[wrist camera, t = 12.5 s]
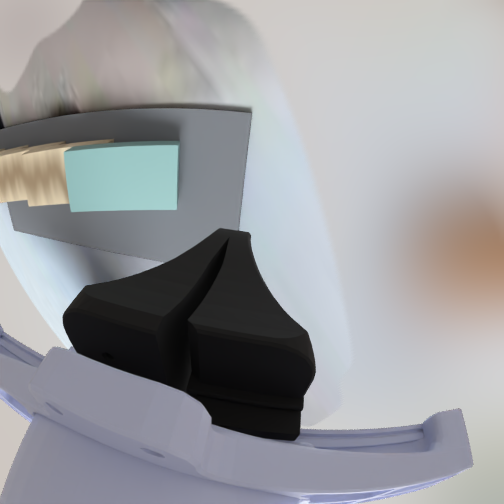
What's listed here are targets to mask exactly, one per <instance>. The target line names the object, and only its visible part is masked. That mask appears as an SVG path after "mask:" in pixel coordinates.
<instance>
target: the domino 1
mask: <svg viewBox="0 0 504 504" xmlns="http://www.w3.org/2000/svg"><path fill="white" fill-rule="evenodd" d="M62 144H66V141H62V142H56V143H50V144H44V145H38V146H33V147H28V148H23V149H18V150H14V151H9V152H5V153H2V154H0V203H3V202H11V201H20V200H27V195H26V189H25V183H24V177H23V170H22V162H21V155H22V154H24V153H25V152H27V151H29V150H32V149H38V148H43V147H49V146H55V145H62Z"/></svg>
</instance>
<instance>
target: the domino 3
mask: <svg viewBox="0 0 504 504" xmlns="http://www.w3.org/2000/svg"><path fill="white" fill-rule="evenodd" d="M179 150H180V141H137V142H118V143H104V144H92V145H83V146H74V147H71V148H70V149H68V150H66V151H64V162H65V173H66V181H67V189H68V196H69V203H70V209H71V212H85V211H117V210H177V206H178V181H179Z"/></svg>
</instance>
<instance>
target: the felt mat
mask: <svg viewBox="0 0 504 504" xmlns="http://www.w3.org/2000/svg"><path fill="white" fill-rule="evenodd" d="M251 118H252V113H247V112H237V111H226V110H212V109H192V108H139V109H120V110H107V111H96V112H87V113H79V114H72V115H65V116H59V117H53V118H47V119H42V120H37V121H32V122H28V123H23V124H19V125H15V126H11V127H7V128H3V129H0V149H4V148H5V150H8V149H12V148H16V147H20V146H25V145H28V147H33V146H38V145H44V144H50V143H56V142H62V141H66V144H69V143H77V142H85V141H95V140H106V139H114V143H118V142H137V141H180V150H179V181H178V206H177V210H117V211H85V212H71V209H70V204H55V205H42V206H30V207H29V205H28V200H20V201H11V202H7V203H8V208H9V212H10V216H11V220H12V224H13V228H14V230H15V231H19V232H23V233H27V234H32V235H36V236H40V237H45V238H49V239H53V240H58V241H62V242H67V243H71V244H76V245H81V246H85V247H90V248H95V249H100V250H104V251H109V252H114V253H119V254H124V255H129V256H134V257H139V258H144V259H149V260H154V261H160V262H165V263H166V262H168V261H170V260H172V259H174V258H176V257H177V256H179V255H181V254H182V253H184V252H186V251H187V250H189V249H191V248H192V247H194V246H195V245H197V244H198V243H199V242H201V241H202V240H204V239H205V238H206V237H208V236H209V235H210V234H212V233H213V232H215V231H216V230H217V229H219V228H224V229H231V230H237V231H239V223H240V213H241V204H242V195H243V186H244V177H245V168H246V159H247V151H248V142H249V134H250V126H251Z"/></svg>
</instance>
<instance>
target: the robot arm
mask: <svg viewBox="0 0 504 504" xmlns="http://www.w3.org/2000/svg"><path fill="white" fill-rule="evenodd" d="M250 240H251V235H250V233H249V232H243V231H237V230H231V229H224V228H219V229H217V230H216V231H215V232H213V233H212V234H210V235H209V236H208V237H206V238H205V239H204V240H202V241H201V242H199V243H198V244H197V245H195V246H194V247H192V248H191V249H189V250H187V251H186V252H184V253H182V254H181V255H179V256H177V257H176V258H174V259H172V260H170V261H168V262H166V263H164V264H162V265H159V266H157V267H155V268H152V269H149V270H147V271H144V272H141V273H139V274H136V275H133V276H129V277H126V278H122V279H118V280H114V281H110V282H104V283H99V284H93V285H87V286H85V287H84V288H83V289H82V290H81V292H80V293H79V294H78V295H77V297H76V298H75V299H74V300H73V302H72V303H71V304H70V305H69V307H68V308H67V309H66V311H65V312H64V314H63V326H64V328H65V331H66V334H67V335H68V337H69V339H70V341H71V343H72V345H73V347H72V346H71V348H70V349H69V350H68V349H64V348H60V347H53V348H52V349H50V350H49V352H48V353H47V354H46V356H43V355H41V354H39V353H38V352H35V351H34V350H32V349H30V348H29V347H27V346H25V345H24V344H22V343H20V342H19V341H17V340H16V339H14V338H13V337H11V336H9V335H8V334H6V333H5V332H4V331H3V328H2V327H1V325H0V399H2V400H3V401H4V402H5V403H6V404H7V405H9V406H10V407H11V408H12V409H13V410H15V411H16V412H17V413H18V414H20V415H21V416H22V417H24V418H25V419H26V420H28V421H29V422H30V423H31V424H30V426H29V428H28V430H27V432H26V434H25V436H24V438H23V440H22V443H21V445H20V447H19V449H18V452H17V454H16V457H15V459H14V461H13V464H12V466H11V469H10V471H9V474H8V477H7V480H6V482H5V485H4V488H3V491H2V494H1V497H0V504H357V503H363V502H369V501H375V500H380V499H385V498H389V497H394V496H398V495H402V494H406V493H410V492H414V491H417V490H421V489H424V488H428V487H431V486H433V485H435V484H437V483H440V482H442V481H445V480H447V479H449V478H451V477H453V476H455V475H457V474H459V473H461V472H463V471H465V470H467V469H469V468H471V467H472V466H473V459H472V454H471V449H470V444H469V439H468V434H467V430H466V426H465V422H464V418H463V414H462V411H461V409H459V408H458V409H453V410H448V411H442V412H438V413H436V414H434V415H432V416H430V417H429V418H428V419H426V420H425V421H424V422H423V424H417V425H410V426H401V427H391V428H378V429H360V430H316V429H300V422H301V411H302V410H303V406H304V395H305V393H306V392H307V390H308V388H309V387H310V385H311V383H312V381H313V380H314V376H315V373H316V366H315V358H314V353H313V349H312V344H311V341H310V338H309V335H308V332H307V331H306V330H305V329H304V328H302V327H301V326H300V325H299V324H298V323H297V322H296V321H294V320H293V319H292V318H291V317H290V316H289V315H288V314H287V313H286V312H285V311H284V310H283V308H282V307H281V306H280V304H279V303H278V302H277V301H276V299H275V298H274V297H273V295H272V294H271V292H270V291H269V289H268V287H267V286H266V284H265V282H264V280H263V278H262V276H261V274H260V272H259V270H258V267H257V265H256V262H255V259H254V256H253V252H252V248H251V241H250Z"/></svg>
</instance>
